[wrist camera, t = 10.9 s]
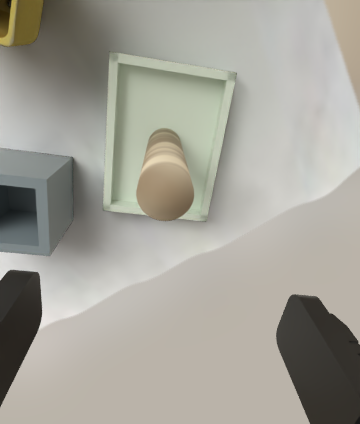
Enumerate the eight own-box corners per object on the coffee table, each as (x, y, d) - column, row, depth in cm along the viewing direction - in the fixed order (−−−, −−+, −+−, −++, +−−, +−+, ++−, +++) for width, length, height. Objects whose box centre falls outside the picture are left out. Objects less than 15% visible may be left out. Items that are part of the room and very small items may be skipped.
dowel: (149, 125, 31) (138, 163, 17) (183, 130, 31) (198, 170, 17) (146, 158, 32) (133, 217, 19) (178, 163, 33) (189, 223, 19)
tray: (113, 53, 29) (109, 51, 26) (231, 73, 30) (236, 72, 28) (106, 201, 35) (102, 210, 33) (203, 212, 36) (206, 221, 34)
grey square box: (-3, 147, 32) (-52, 167, 25) (72, 157, 33) (46, 179, 25) (5, 213, 35) (-37, 248, 28) (72, 220, 36) (49, 256, 29)
